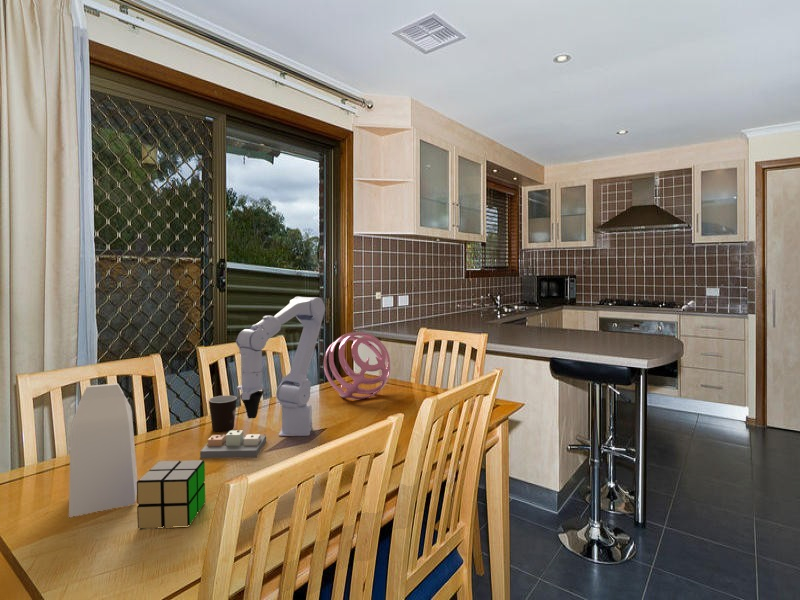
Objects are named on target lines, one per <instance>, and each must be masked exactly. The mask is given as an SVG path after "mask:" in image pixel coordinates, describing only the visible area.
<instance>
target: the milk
mask: <svg viewBox="0 0 800 600" xmlns="http://www.w3.org/2000/svg"><path fill="white" fill-rule="evenodd" d="M69 441H70V445H69V447H70V449H69V450H70V451H69V485H68V486H69V492H68V493H69V494H68V495H69V496H68V518H69V517H70V518H74V517H73V516H75V517H80V516H84V515H83V514H85V515H88V513H90V514H93V513H92V512H96V513H98V512H97V511H101V512H104V511H103V510H106V511H108V510H107V509H111V510H113V509H112V508H116V509H118V508H117V507H121V508H123V507H122V506H126V507H129V506H128V505H132V506H134V505H133V504H135V505H136V503H137V481H138V470H137V459H136V446H135V445H136V444H135V433H134V422H133V411H132V406H131V404H130V403H129V400H128V399H127V397H126V396H125V393H124V391H123V390H122V388H121V386H120V383H107V384H95V385H93V384H92V385H87V386H86V387H85V389H84V392H83V393H82V395H81V398H80V399H79V402H78V406H77V408H76V412H75V414H74V417H73V420H72V423H71V428H70V440H69ZM135 502H136V503H135ZM79 515H80V516H79Z"/></svg>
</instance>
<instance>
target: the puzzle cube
mask: <svg viewBox="0 0 800 600" xmlns="http://www.w3.org/2000/svg"><path fill="white" fill-rule="evenodd" d="M205 462H206V461H205V460H203V459H199V460H197V459H194V460H192V459H191V460H182V461H181V460H159V461H158V462H157V463H155V464H154V465H153V466H152V467H151V468H150V469H149V470H148V471H147V472H146V473H145V474H143V476H141V477H140V478H139V479H137V494H136V503H137V506H136V507H137V508H136V510H137V515H136V516H137V529H139V528H155V529H159V528H158V527H163V526H164V527H163V528H165V527H173V526H188V525H190V523H191V522H192V520H193V519H194V518H195V519H196V517H197V516H198V514H197V512H199V513H200V511H201V510H202V508H203V507H204V505H205V504H204V503H206V483H205V481H206V469H205V468H206V467H205V466H206V465H205ZM203 504H204V505H203ZM202 506H203V507H202ZM201 507H202V508H201ZM200 509H201V510H200ZM199 510H200V511H199ZM196 515H197V516H196ZM195 516H196V517H195ZM195 519H194V520H195ZM194 520H193V521H194ZM192 523H193V522H192ZM192 523H191V524H192ZM190 526H191V525H190Z"/></svg>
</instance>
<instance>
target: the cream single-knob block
mask: <svg viewBox="0 0 800 600" xmlns="http://www.w3.org/2000/svg"><path fill="white" fill-rule="evenodd" d="M245 435H246V437H245V438H244V446H250V445H259V444H260V442H261V435H262V434H261V433H251V434H249V433H248V434H245Z"/></svg>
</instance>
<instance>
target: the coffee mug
mask: <svg viewBox="0 0 800 600" xmlns="http://www.w3.org/2000/svg"><path fill="white" fill-rule="evenodd" d="M237 400H238V397H237V396H235V395H218V396H212V397H210V398H209V399H208V406H209V414H210V419H211V428H212V432H214V433H218V432H219V433H228V432H229V431H230V430H232V429H233V428H234V427H235V419H236V411H237V409H236V408H237V402H238V401H237ZM233 430H234V429H233Z"/></svg>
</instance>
